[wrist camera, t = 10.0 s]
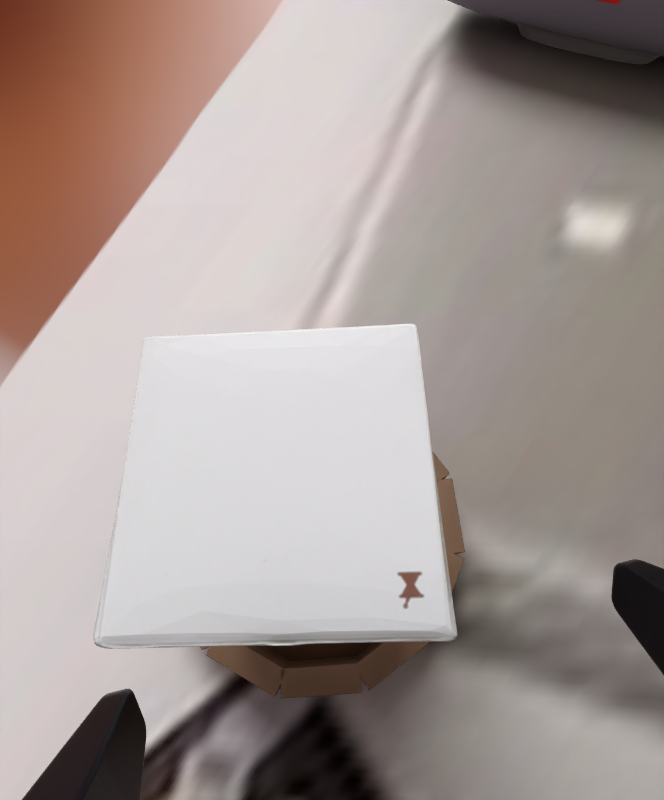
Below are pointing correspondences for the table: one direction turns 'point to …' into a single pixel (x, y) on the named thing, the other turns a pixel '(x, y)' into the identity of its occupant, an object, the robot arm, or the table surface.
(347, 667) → the brown faceted round ring
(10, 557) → the table surface
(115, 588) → the supplement box
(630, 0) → the bluetooth speaker
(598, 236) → the table surface
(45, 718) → the table surface
